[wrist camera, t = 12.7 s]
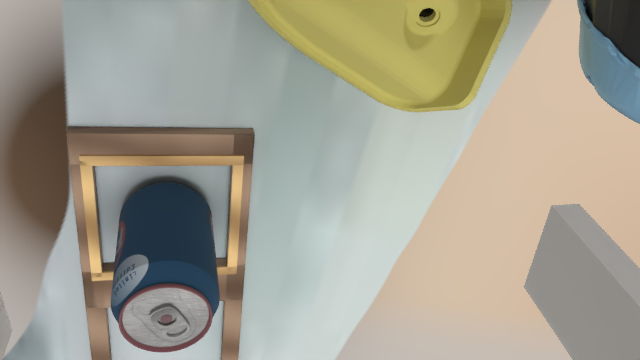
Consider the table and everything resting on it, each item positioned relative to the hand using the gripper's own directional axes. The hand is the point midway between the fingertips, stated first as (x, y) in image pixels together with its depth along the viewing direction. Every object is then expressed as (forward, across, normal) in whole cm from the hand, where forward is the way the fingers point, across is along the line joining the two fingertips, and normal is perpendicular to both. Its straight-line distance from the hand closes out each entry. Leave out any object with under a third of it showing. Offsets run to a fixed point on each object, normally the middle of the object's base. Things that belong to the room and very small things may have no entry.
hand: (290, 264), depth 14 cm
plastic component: (+30, +9, 0) cm, 31 cm away
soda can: (+29, -5, -19) cm, 35 cm away
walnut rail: (+29, -6, -26) cm, 39 cm away
